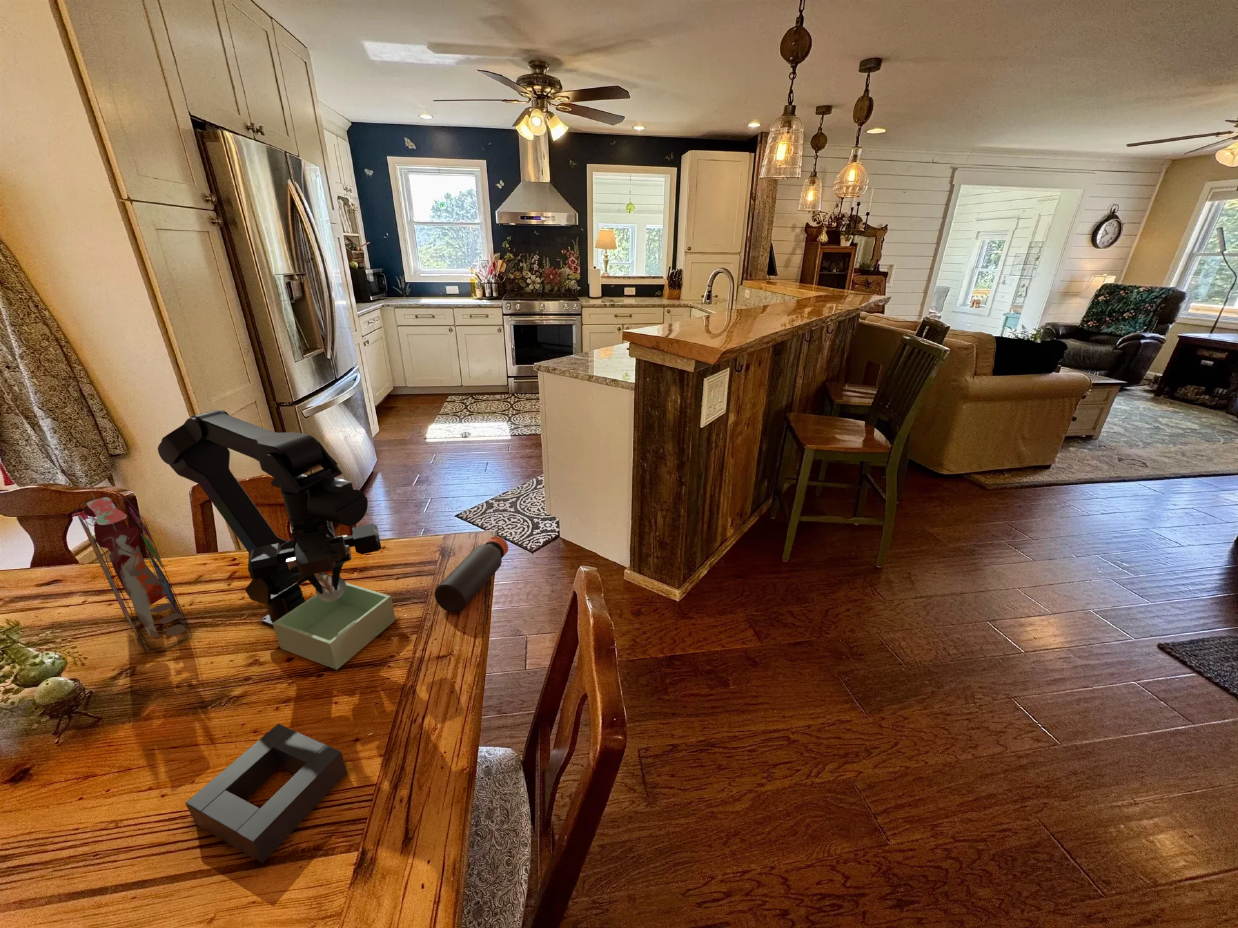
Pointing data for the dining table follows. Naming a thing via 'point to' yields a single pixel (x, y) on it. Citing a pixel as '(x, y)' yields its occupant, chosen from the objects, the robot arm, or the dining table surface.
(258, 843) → the gray rectangular frame
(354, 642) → the parts bin
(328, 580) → the screw
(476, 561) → the bottle
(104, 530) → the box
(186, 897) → the dining table surface
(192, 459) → the robot arm
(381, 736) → the dining table surface
